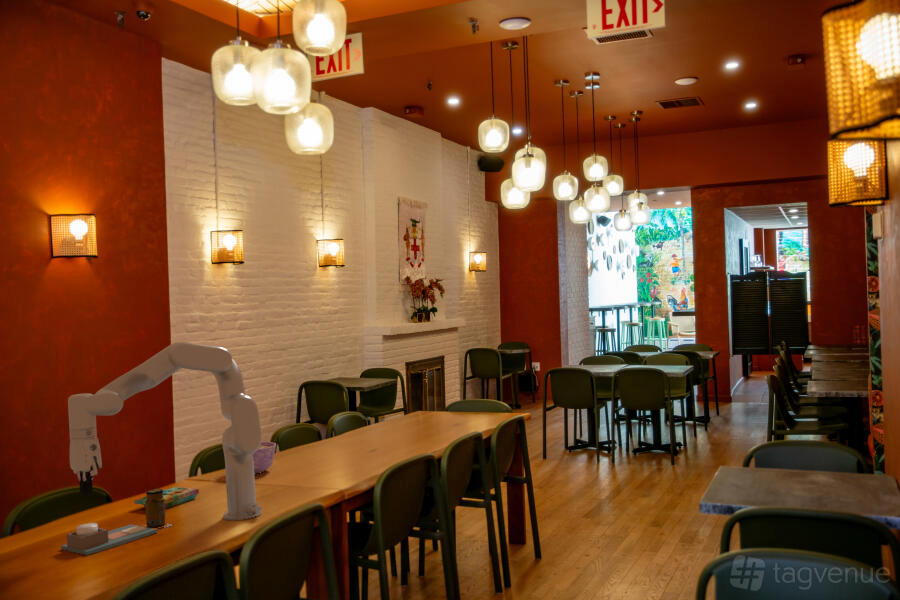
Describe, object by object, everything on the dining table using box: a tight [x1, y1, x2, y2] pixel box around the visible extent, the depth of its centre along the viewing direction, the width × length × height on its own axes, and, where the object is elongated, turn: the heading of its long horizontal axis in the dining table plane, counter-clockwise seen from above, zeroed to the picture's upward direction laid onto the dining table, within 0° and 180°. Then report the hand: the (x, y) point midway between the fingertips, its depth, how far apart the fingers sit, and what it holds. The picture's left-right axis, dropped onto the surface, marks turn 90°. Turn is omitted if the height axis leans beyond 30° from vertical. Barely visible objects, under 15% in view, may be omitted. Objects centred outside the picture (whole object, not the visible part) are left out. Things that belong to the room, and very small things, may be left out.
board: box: [60, 524, 158, 556], centre depth 242 cm, size 14×24×5 cm, turn 147°
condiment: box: [141, 488, 174, 529], centre depth 256 cm, size 7×8×12 cm
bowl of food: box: [253, 441, 277, 475], centre depth 334 cm, size 20×20×12 cm
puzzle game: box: [133, 486, 200, 510], centre depth 286 cm, size 12×5×20 cm
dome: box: [75, 522, 99, 537], centre depth 236 cm, size 6×6×3 cm
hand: (86, 493), depth 236 cm, fingers closed
